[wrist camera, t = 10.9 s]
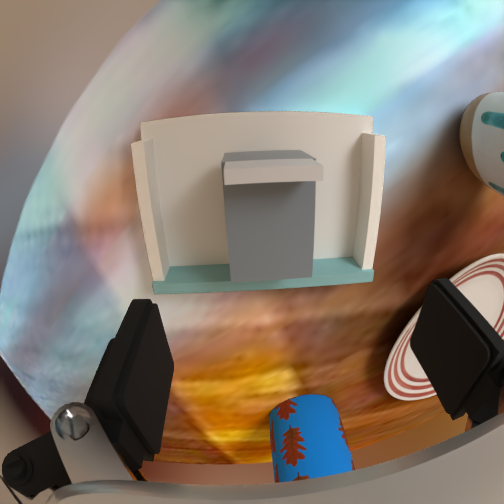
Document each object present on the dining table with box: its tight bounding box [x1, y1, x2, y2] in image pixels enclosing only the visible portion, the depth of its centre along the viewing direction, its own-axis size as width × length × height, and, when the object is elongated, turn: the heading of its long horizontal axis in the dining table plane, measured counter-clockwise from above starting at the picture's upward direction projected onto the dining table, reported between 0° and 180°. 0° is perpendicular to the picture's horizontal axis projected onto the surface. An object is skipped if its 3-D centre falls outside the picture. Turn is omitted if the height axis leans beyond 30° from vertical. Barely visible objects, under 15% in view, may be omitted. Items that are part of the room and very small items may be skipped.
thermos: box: [269, 394, 355, 483], centre depth 29 cm, size 11×11×25 cm
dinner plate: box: [384, 254, 504, 400], centre depth 34 cm, size 28×27×3 cm
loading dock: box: [131, 111, 386, 294], centre depth 23 cm, size 14×19×4 cm
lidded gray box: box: [221, 150, 323, 283], centre depth 20 cm, size 8×6×9 cm
